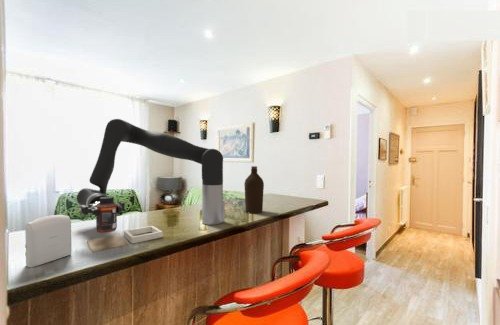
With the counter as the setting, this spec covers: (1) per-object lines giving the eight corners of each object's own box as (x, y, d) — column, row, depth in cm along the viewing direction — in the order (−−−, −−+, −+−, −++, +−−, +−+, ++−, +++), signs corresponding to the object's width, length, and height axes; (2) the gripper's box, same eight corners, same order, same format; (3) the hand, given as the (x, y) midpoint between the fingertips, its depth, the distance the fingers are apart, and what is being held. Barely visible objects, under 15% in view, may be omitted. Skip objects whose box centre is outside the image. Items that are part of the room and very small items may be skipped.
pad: (119, 236, 88) (119, 234, 88) (127, 244, 80) (127, 242, 80) (86, 242, 82) (86, 240, 82) (92, 251, 74) (92, 249, 74)
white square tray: (152, 230, 96) (152, 225, 96) (162, 237, 88) (162, 231, 88) (123, 235, 89) (123, 230, 89) (131, 243, 81) (131, 237, 81)
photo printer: (30, 269, 62) (30, 220, 62) (22, 266, 64) (22, 219, 63) (74, 254, 71) (74, 213, 71) (65, 252, 73) (65, 211, 73)
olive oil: (252, 214, 125) (253, 166, 125) (240, 211, 134) (240, 166, 133) (267, 212, 132) (267, 166, 132) (255, 209, 140) (255, 166, 140)
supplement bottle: (120, 230, 82) (120, 197, 82) (101, 234, 77) (101, 199, 77) (111, 227, 85) (111, 195, 85) (92, 231, 80) (93, 197, 80)
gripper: (75, 195, 87) (81, 202, 74) (120, 192, 96) (132, 197, 84) (75, 216, 87) (81, 226, 74) (119, 210, 96) (131, 219, 84)
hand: (108, 211), depth 79 cm, fingers closed on supplement bottle, 6 cm apart
